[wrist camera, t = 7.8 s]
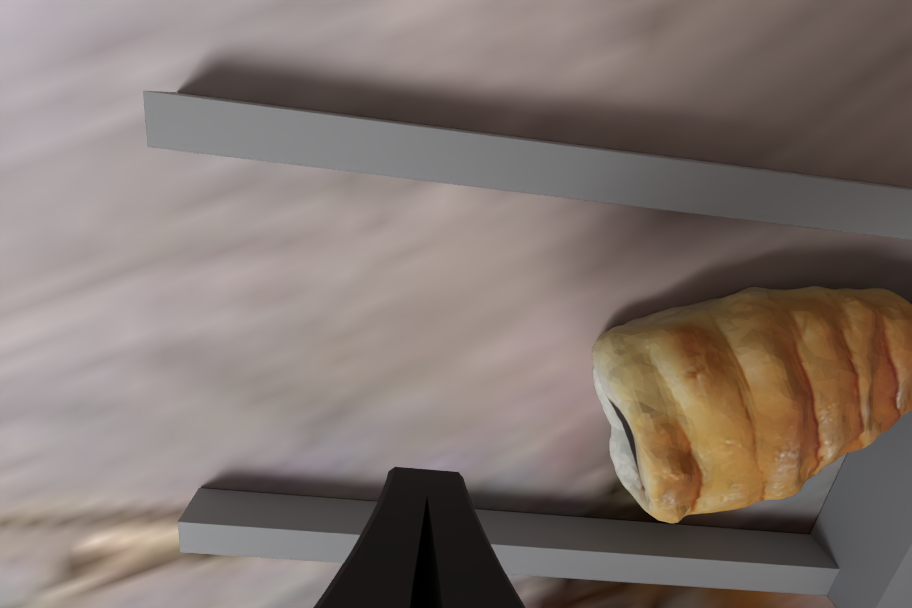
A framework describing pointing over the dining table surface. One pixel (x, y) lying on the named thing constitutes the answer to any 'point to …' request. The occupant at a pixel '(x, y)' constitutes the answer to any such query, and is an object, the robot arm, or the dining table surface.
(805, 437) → the pastry
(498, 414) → the dining table surface
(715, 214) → the bay
